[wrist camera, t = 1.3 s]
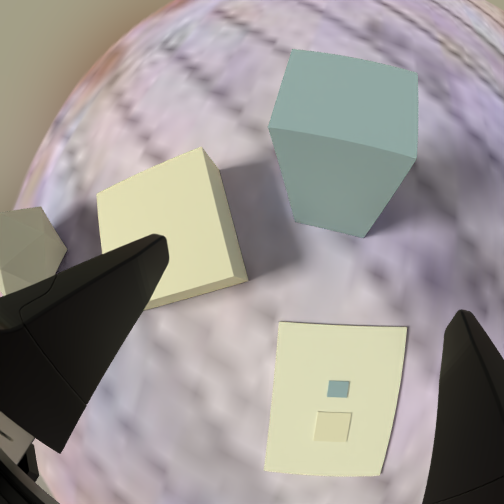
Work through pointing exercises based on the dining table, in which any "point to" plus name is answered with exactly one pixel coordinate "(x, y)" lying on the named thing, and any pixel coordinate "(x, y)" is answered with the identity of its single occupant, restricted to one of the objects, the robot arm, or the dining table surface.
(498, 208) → the dining table surface
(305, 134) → the blue brick
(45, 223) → the die
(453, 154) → the dining table surface
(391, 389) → the plate
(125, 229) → the base brick
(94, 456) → the dining table surface
